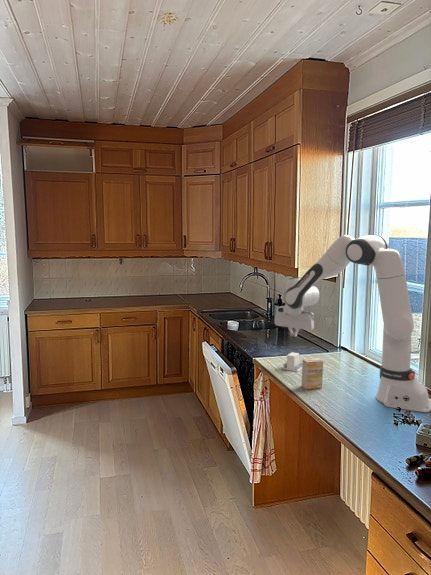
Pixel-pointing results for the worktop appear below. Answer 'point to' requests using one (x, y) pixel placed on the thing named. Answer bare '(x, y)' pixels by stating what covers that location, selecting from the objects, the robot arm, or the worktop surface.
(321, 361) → the supplement box
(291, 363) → the block
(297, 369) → the rail plate
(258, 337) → the worktop surface
